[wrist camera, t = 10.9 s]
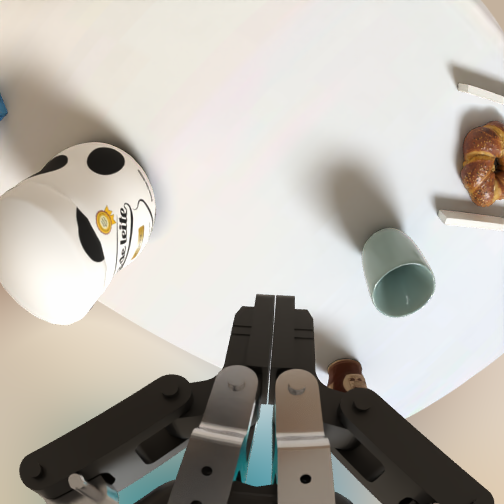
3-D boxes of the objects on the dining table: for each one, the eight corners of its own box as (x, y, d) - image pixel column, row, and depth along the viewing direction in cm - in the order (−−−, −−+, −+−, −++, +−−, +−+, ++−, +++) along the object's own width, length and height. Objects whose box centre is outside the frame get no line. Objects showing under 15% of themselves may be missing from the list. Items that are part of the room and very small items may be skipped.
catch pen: (458, 83, 28) (468, 84, 26) (545, 115, 26) (556, 119, 24) (437, 216, 37) (444, 224, 35) (521, 226, 36) (529, 234, 33)
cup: (393, 208, 38) (419, 249, 29) (419, 249, 40) (445, 294, 32) (346, 241, 41) (358, 289, 32) (375, 278, 43) (390, 327, 35)
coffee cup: (347, 346, 51) (355, 411, 40) (376, 364, 53) (386, 424, 42) (312, 370, 55) (313, 431, 44) (342, 386, 57) (346, 443, 46)
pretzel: (498, 210, 36) (510, 222, 32) (443, 190, 36) (455, 201, 33) (524, 136, 29) (539, 144, 26) (470, 106, 29) (485, 111, 26)
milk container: (180, 240, 44) (128, 334, 28) (86, 255, 47) (25, 330, 32) (142, 119, 35) (48, 162, 20) (47, 156, 38) (-41, 209, 23)
